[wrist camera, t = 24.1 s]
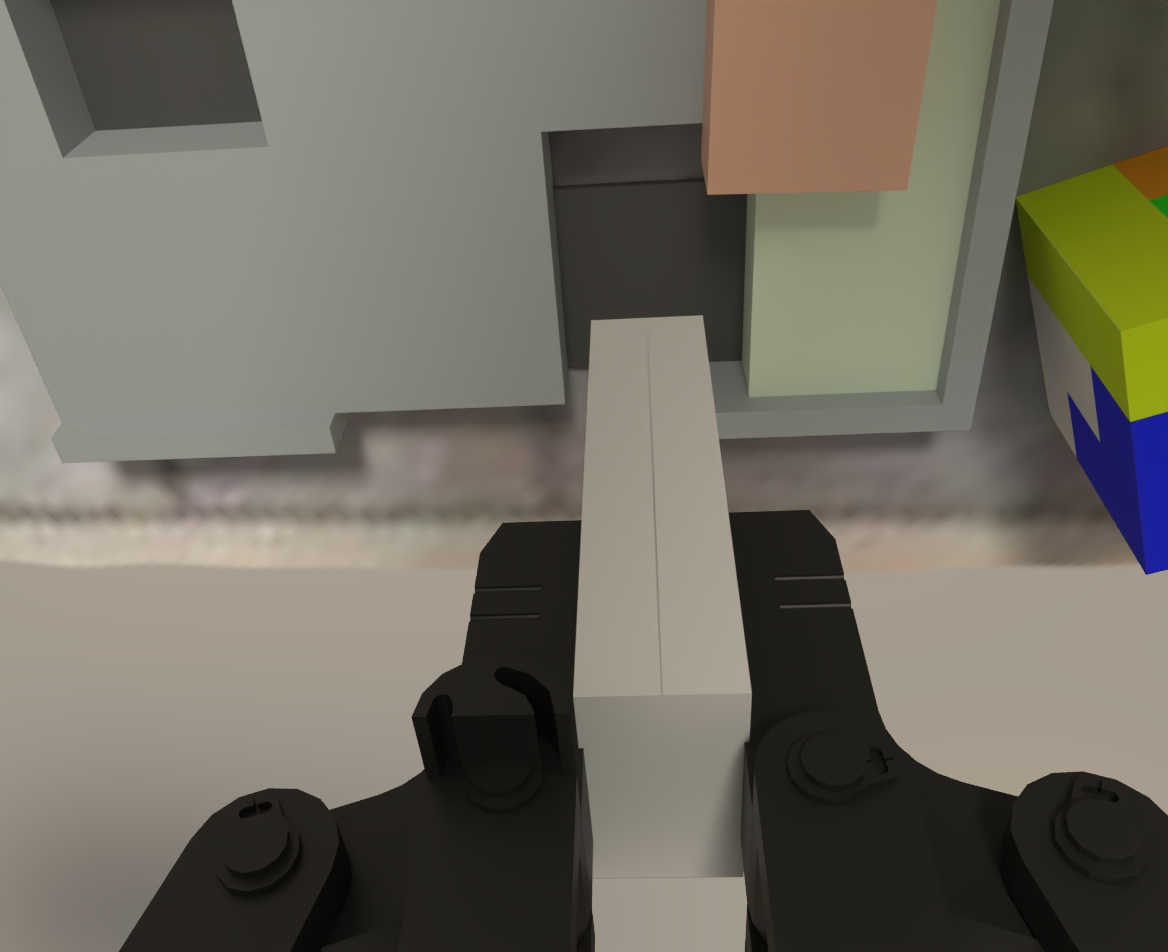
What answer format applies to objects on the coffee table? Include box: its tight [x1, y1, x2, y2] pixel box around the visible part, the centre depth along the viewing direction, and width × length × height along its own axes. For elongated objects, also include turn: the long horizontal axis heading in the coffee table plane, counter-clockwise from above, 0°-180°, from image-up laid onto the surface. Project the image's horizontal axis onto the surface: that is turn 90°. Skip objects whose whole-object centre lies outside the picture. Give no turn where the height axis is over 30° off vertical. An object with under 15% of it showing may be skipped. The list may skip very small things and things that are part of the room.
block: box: [701, 0, 937, 195], centre depth 31 cm, size 6×6×3 cm
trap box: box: [0, 0, 1054, 463], centre depth 35 cm, size 20×35×4 cm, turn 94°
